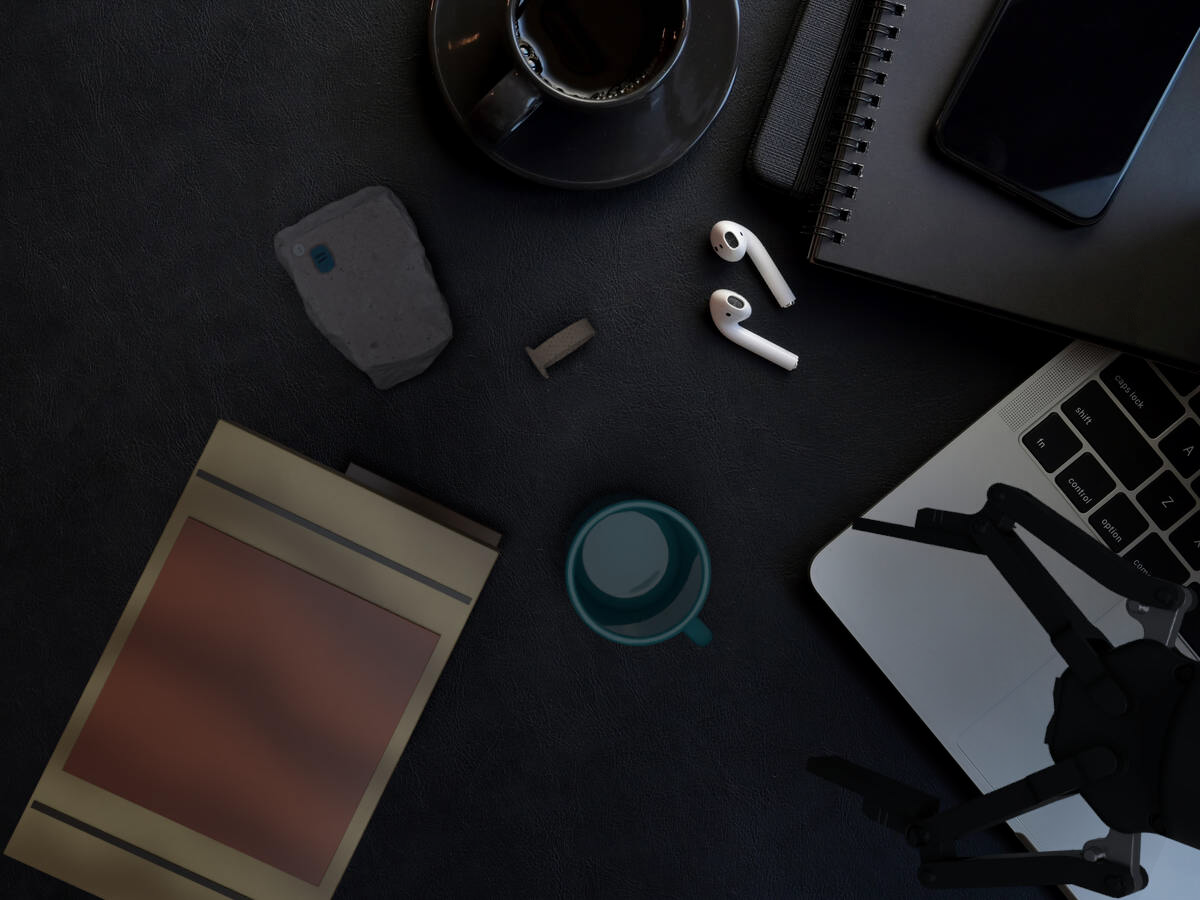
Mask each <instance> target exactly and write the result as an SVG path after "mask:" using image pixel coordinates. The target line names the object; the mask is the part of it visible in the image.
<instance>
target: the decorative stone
mask: <svg viewBox="0 0 1200 900" xmlns="http://www.w3.org/2000/svg"><path fill="white" fill-rule="evenodd" d="M273 243H274V245H273V246H274V252H275V255H276V256H275V257H276V259H277V261H278V262H279V264H280V265H281V266H282V267H283V269H284V270H285V272H286V273H287V274H288V276H289V278H291V280H292V281H293V283H294V285H295V286H296V291H297V294H298V295H299V297H300V298H301V300H302V303H303V306H304V310H305V313H306V316H307V317H308V319H309V320H310V322H311V323H312V324H313V325H314V327H315V328H316V330H318V331H319V332H320V334H321V335H322V336H324V338H326V339H327V341H328V342H329V343H330V345H331V346H333V347H335V348H336V349H337V351H339V352H340V353H341V354H342V355H343V356H344V357H345V358H346V359H347V360H348V361H349V362H350V363H352V364H353V365H354V366H355V367H356V368H358V369H359V370H361V371H362V372H364V373H365V374H366V375H368V377H369V378H370V380H371V381H372V383H373V385H374V387H376V389H378V390H383V391H385V390H389V389H391V388H392V387H395V386H396V385H398V384H399V383H402V382H405V381H407V380H410V379H411V378H414V377H416V376H418V375H421V374H423V373H424V372H425V371H426V370H427V369H428V368H429V367H430V366H431V365H432V364H433V362H434V361H435V359H436V358H438V356H440V354H441V353H442V351H443V350H444V349H445V348H446V347H447V345H448V344H449V342H450V341H451V340H452V339H453V338H454V336H453V332H454V330H453V322H452V319H451V318H450V316H451V315H450V307H449V305H448V302H447V300H446V299H445V297H444V294H443V293H441V291H440V287H439V285H438V283H437V281H436V277H435V275H434V272H433V267H432V265H431V261H429V258H427V256H426V248H425V247H424V245H423V243H422V241H421V238H420V237H419V234H418V228H417V226H416V224H415V222H414V219H413V218H412V217H411V216H410V215H409V212H408V211H407V208H406V206H405V205H404V203H403V201H401V199H400V198H399V197H398V196H397V195H396V194H395V193H394V192H393V191H392V190H391V188H388V187H386V186H384V185H371V186H369V185H368V186H365V187H364V188H361V189H359V190H358V191H357V192H354V193H352V194H349V195H347V196H345V197H343V198H342V199H338V200H335V201H332V202H330V203H327V204H326V205H324V206H322V207H321V208H319V209H317V210H315V211H314V212H312V213H311V212H310V213H309V214H308V215H306V216H304V217H303V218H301V219H300V220H299V221H298V222H297V223H295V224H292V225H290V226H287V227H285V228H283V229H282V230H280V231H279V232H277V234H275V237H274V242H273Z"/></svg>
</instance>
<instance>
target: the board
mask: <svg viewBox="0 0 1200 900" xmlns="http://www.w3.org/2000/svg"><path fill="white" fill-rule="evenodd" d="M501 552H502V549H501V548H500V547H498V546H497V547H496V546H494V545H492V544H489V543H487V542H485V541H483V540H481V539H479V538H477V537H475V536H473V535H471V534H469V533H466V532H464V531H462V530H460V529H458V528H456V527H454V526H452V525H450V524H448V523H446V522H443V521H441V520H439V519H437V518H435V517H433V516H431V515H429V514H427V513H425V512H423V511H421V510H418V509H416V508H414V507H412V506H410V505H408V504H406V503H404V502H402V501H400V500H398V499H395V498H393V497H391V496H389V495H387V494H385V493H383V492H381V491H379V490H377V489H375V488H372V487H370V486H368V485H366V484H364V483H362V482H360V481H358V480H356V479H354V478H352V477H349V476H347V475H345V473H343V472H342V471H339V470H337V469H334V468H333V467H330V466H329V465H326V464H324V463H322V462H321V461H318V460H316V459H314V458H312V457H310V456H308V455H306V454H304V453H301V452H300V451H298V450H295V449H293V448H291V447H288V446H287V445H286V444H285V445H284V444H283V443H280V442H279V441H277V440H274V439H272V438H270V437H269V436H266V435H264V434H262V433H259V432H258V431H255V430H254V429H251V428H249V427H247V426H245V425H243V424H241V423H238V422H236V421H235V420H232V419H225V418H224V419H222V418H219V419H218V421H217V423H216V425H215V427H214V429H213V431H212V433H211V435H210V437H209V439H208V441H207V443H206V445H205V447H204V449H203V450H202V453H201V455H200V457H199V459H198V461H197V463H196V465H195V467H194V469H193V471H192V473H191V474H190V477H189V479H188V481H187V483H186V485H185V487H184V489H183V491H182V493H181V496H180V497H179V499H178V501H177V503H176V505H175V507H174V509H173V511H172V513H171V515H170V517H169V519H168V521H167V523H166V525H165V527H164V529H163V531H162V534H161V535H160V537H159V539H158V542H157V544H156V545H155V548H154V550H153V551H152V554H151V555H150V557H149V560H148V561H147V563H146V565H145V567H144V570H143V572H142V574H141V576H140V577H139V580H138V582H137V584H136V585H135V588H134V590H133V591H132V594H131V596H130V598H129V600H128V602H127V603H126V605H125V608H124V610H123V612H122V614H121V616H120V618H119V620H118V622H117V623H116V626H115V628H114V630H113V632H112V634H111V635H110V638H109V640H108V642H107V644H106V646H105V648H104V650H103V652H102V654H101V656H100V658H99V659H98V662H97V664H96V666H95V667H94V670H93V671H92V674H91V676H90V678H89V680H88V682H87V684H86V686H85V688H84V690H83V692H82V694H81V696H80V698H79V700H78V703H77V704H76V705H75V708H74V710H73V712H72V714H71V716H70V718H69V720H68V722H67V724H66V726H65V728H64V730H63V732H62V734H61V737H60V739H58V743H57V744H56V746H55V748H54V751H53V752H52V754H51V756H50V759H49V761H48V762H47V764H46V767H45V768H44V770H43V772H42V775H41V777H40V779H39V781H38V782H37V784H36V787H35V788H34V791H33V793H32V794H31V797H30V798H29V801H28V803H27V805H26V806H25V809H24V810H23V813H22V815H21V817H20V819H19V821H18V823H17V825H16V827H15V828H14V831H13V833H12V835H11V837H10V838H9V840H8V842H7V846H6V847H5V848H4V851H3V855H5V856H8V857H9V858H12V859H14V860H16V861H18V862H21V863H23V864H24V865H27V866H29V867H31V868H34V869H35V870H38V871H40V872H42V873H45V874H47V875H49V876H52V877H53V878H56V879H58V880H60V881H63V882H65V883H67V884H69V885H71V886H74V887H76V888H78V889H80V890H82V891H84V892H86V893H89V894H91V895H93V896H96V897H98V898H100V899H103V900H332V899H333V897H334V895H335V893H336V892H337V889H338V887H339V885H340V883H341V882H342V881H341V880H342V878H343V876H344V874H345V872H346V870H347V868H348V866H349V864H350V862H351V860H352V858H353V856H354V854H355V852H356V850H357V848H358V846H359V843H361V839H362V837H363V835H364V834H365V831H366V829H367V826H368V825H369V823H370V821H371V819H372V817H373V815H374V813H375V812H376V809H377V806H378V805H379V803H380V800H381V798H382V797H383V794H384V792H385V790H386V788H387V786H388V784H389V782H390V780H391V778H392V776H393V774H394V772H395V769H396V768H397V765H398V763H399V762H400V760H401V757H402V755H403V753H404V751H405V749H406V747H407V745H408V743H409V741H410V739H411V737H412V735H413V734H414V733H413V732H414V731H415V728H416V727H417V725H418V723H419V720H420V718H421V716H422V714H423V713H424V710H425V708H426V706H427V704H428V702H429V701H430V697H431V696H432V694H433V693H434V690H435V687H436V685H437V683H438V681H439V679H440V677H441V676H442V673H443V672H444V669H445V667H446V665H447V663H448V661H449V659H450V656H451V654H452V653H453V650H454V649H455V646H456V644H457V642H458V641H459V638H460V636H461V634H462V632H463V630H464V628H465V626H466V623H467V622H468V620H469V618H470V615H471V614H472V611H473V609H474V607H475V605H476V603H477V601H478V599H479V597H480V595H481V593H482V591H483V589H484V587H485V585H486V583H487V581H488V579H489V577H490V574H491V572H492V570H493V568H494V567H495V564H496V562H497V560H498V558H499V555H500V553H501Z"/></svg>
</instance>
